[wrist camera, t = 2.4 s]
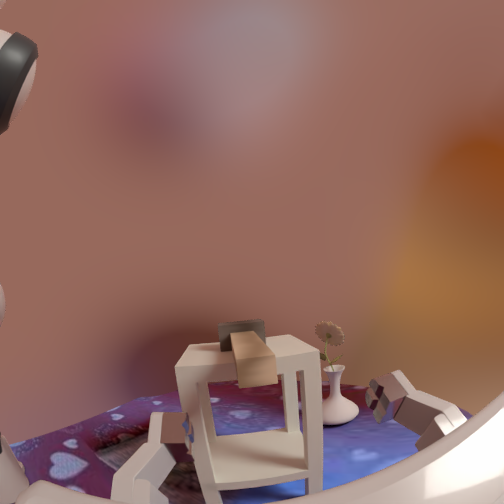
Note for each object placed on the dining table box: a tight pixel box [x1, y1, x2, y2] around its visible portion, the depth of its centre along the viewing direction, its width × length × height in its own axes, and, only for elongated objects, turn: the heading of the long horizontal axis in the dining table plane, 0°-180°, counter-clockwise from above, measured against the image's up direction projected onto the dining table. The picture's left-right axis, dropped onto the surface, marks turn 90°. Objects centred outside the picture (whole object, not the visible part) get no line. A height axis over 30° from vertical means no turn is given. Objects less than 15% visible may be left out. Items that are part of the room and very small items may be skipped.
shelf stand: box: [175, 335, 323, 504], centre depth 32 cm, size 16×14×26 cm
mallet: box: [218, 319, 278, 388], centre depth 28 cm, size 6×18×4 cm, turn 6°
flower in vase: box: [315, 321, 359, 425], centre depth 56 cm, size 13×11×25 cm
